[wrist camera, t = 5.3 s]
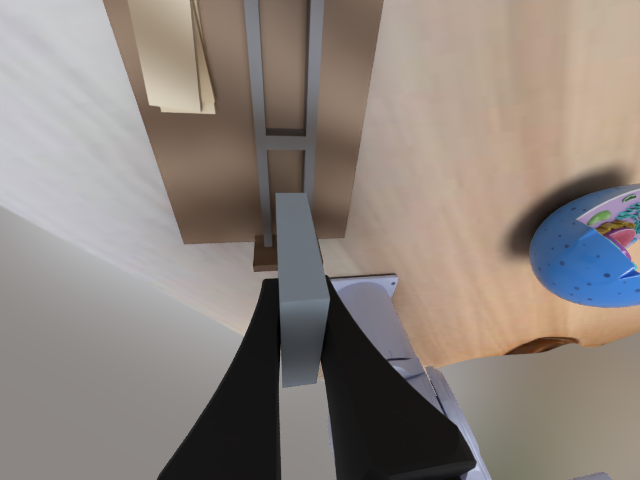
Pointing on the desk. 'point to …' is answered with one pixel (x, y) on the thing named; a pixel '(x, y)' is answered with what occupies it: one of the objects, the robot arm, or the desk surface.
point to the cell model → (591, 249)
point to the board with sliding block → (264, 117)
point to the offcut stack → (173, 55)
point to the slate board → (300, 291)
